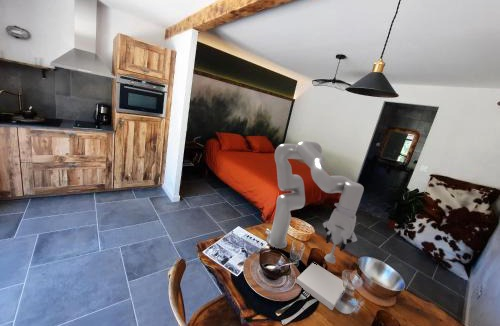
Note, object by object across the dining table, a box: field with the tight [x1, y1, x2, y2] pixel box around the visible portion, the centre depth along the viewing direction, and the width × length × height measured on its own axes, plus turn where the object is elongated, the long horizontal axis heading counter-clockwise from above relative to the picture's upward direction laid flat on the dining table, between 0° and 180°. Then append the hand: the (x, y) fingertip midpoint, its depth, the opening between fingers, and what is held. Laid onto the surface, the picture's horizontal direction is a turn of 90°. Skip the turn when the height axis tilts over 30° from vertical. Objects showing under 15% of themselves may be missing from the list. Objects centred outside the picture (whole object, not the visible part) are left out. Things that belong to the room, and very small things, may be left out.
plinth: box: [295, 262, 346, 311], centre depth 103 cm, size 18×18×3 cm
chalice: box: [324, 226, 344, 264], centre depth 97 cm, size 7×7×18 cm
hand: (334, 245), depth 98 cm, fingers closed on chalice, 5 cm apart
